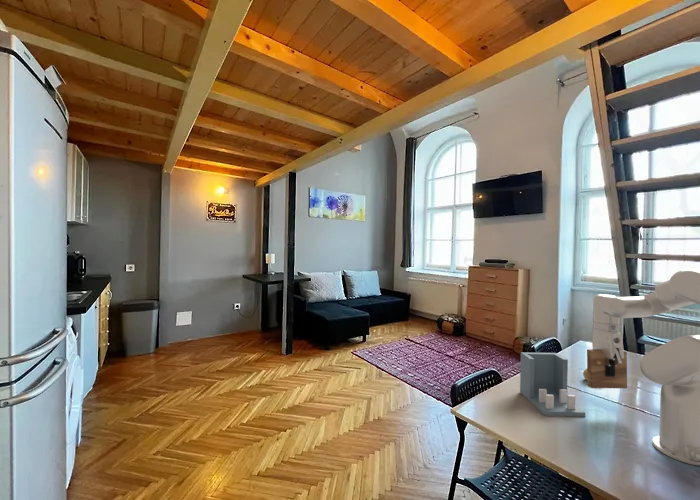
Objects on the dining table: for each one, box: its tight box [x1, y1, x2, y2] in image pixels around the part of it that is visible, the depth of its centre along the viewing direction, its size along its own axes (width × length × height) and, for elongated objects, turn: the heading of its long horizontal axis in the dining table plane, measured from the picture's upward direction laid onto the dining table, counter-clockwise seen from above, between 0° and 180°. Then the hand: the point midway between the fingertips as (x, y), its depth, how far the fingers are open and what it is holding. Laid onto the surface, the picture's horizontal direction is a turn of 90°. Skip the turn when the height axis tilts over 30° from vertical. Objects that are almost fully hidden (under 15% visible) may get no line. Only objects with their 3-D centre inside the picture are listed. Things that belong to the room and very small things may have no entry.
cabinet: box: [519, 351, 586, 417], centre depth 125 cm, size 18×15×18 cm
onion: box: [582, 368, 587, 381], centre depth 145 cm, size 8×8×7 cm
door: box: [586, 348, 628, 389], centre depth 119 cm, size 3×13×14 cm, turn 88°
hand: (606, 374), depth 119 cm, fingers closed on door, 2 cm apart
